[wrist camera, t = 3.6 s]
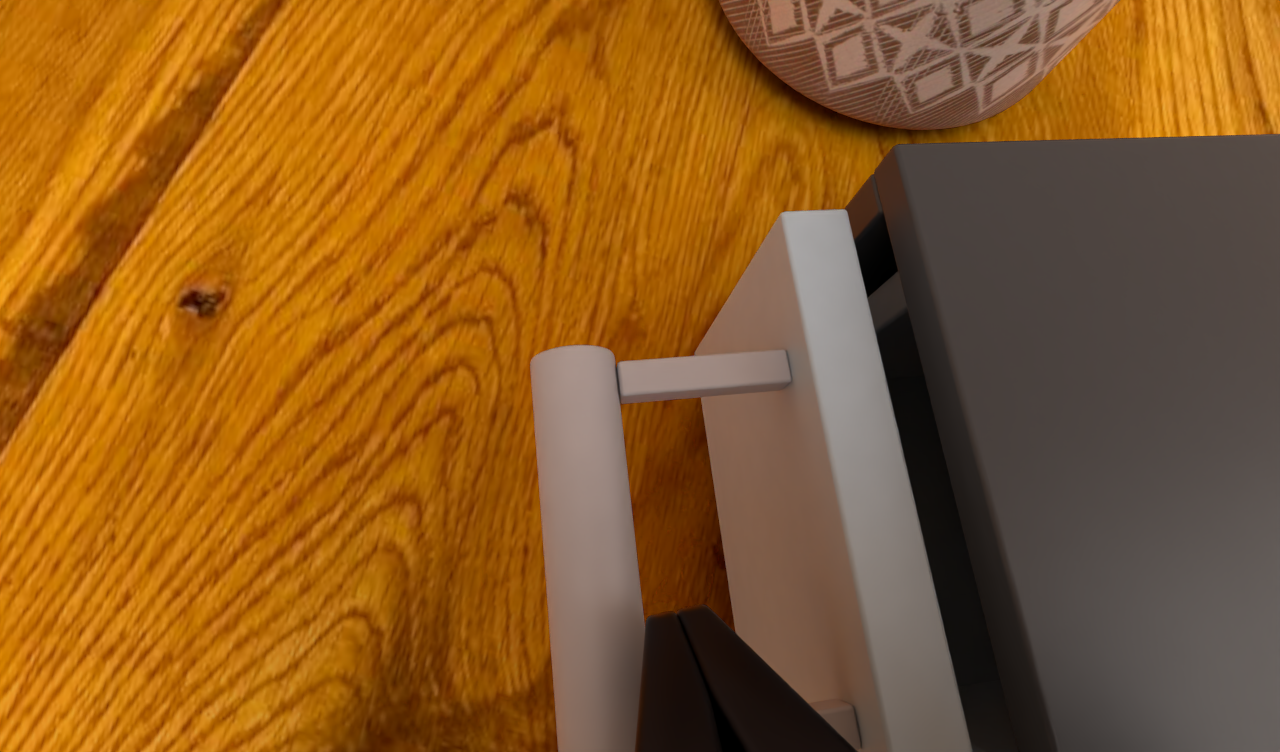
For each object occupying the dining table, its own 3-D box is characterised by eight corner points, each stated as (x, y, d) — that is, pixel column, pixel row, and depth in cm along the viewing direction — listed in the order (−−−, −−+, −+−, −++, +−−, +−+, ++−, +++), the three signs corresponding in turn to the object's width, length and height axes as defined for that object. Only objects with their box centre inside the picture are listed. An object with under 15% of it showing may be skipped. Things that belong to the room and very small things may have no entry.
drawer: (568, 813, 14) (577, 1048, 7) (534, 363, 17) (517, 220, 10) (1220, 697, 17) (1696, 788, 10) (1095, 322, 19) (1392, 184, 12)
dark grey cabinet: (816, 784, 16) (1132, 1046, 7) (740, 338, 19) (894, 141, 10) (1283, 699, 18) (1976, 822, 9) (1143, 309, 21) (1555, 125, 12)
